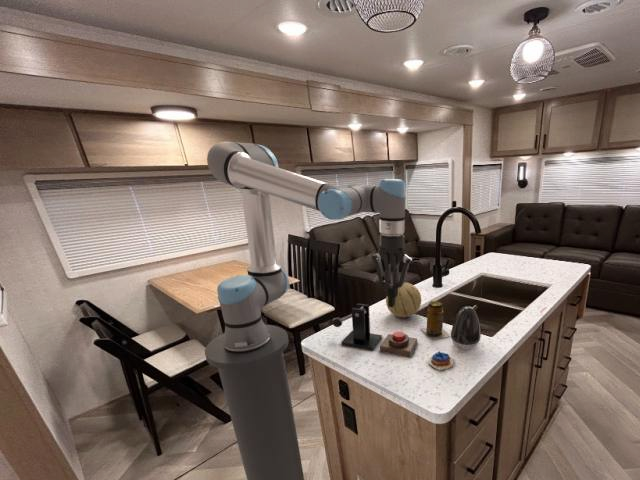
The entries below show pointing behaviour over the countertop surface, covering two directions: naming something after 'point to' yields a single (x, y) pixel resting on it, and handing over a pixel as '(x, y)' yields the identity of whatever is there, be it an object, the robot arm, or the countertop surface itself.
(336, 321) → the lever
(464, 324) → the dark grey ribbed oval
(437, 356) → the dessert
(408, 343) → the button block
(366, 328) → the bracket
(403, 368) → the countertop surface
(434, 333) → the condiment
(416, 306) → the cantaloupe
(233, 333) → the robot arm
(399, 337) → the button
